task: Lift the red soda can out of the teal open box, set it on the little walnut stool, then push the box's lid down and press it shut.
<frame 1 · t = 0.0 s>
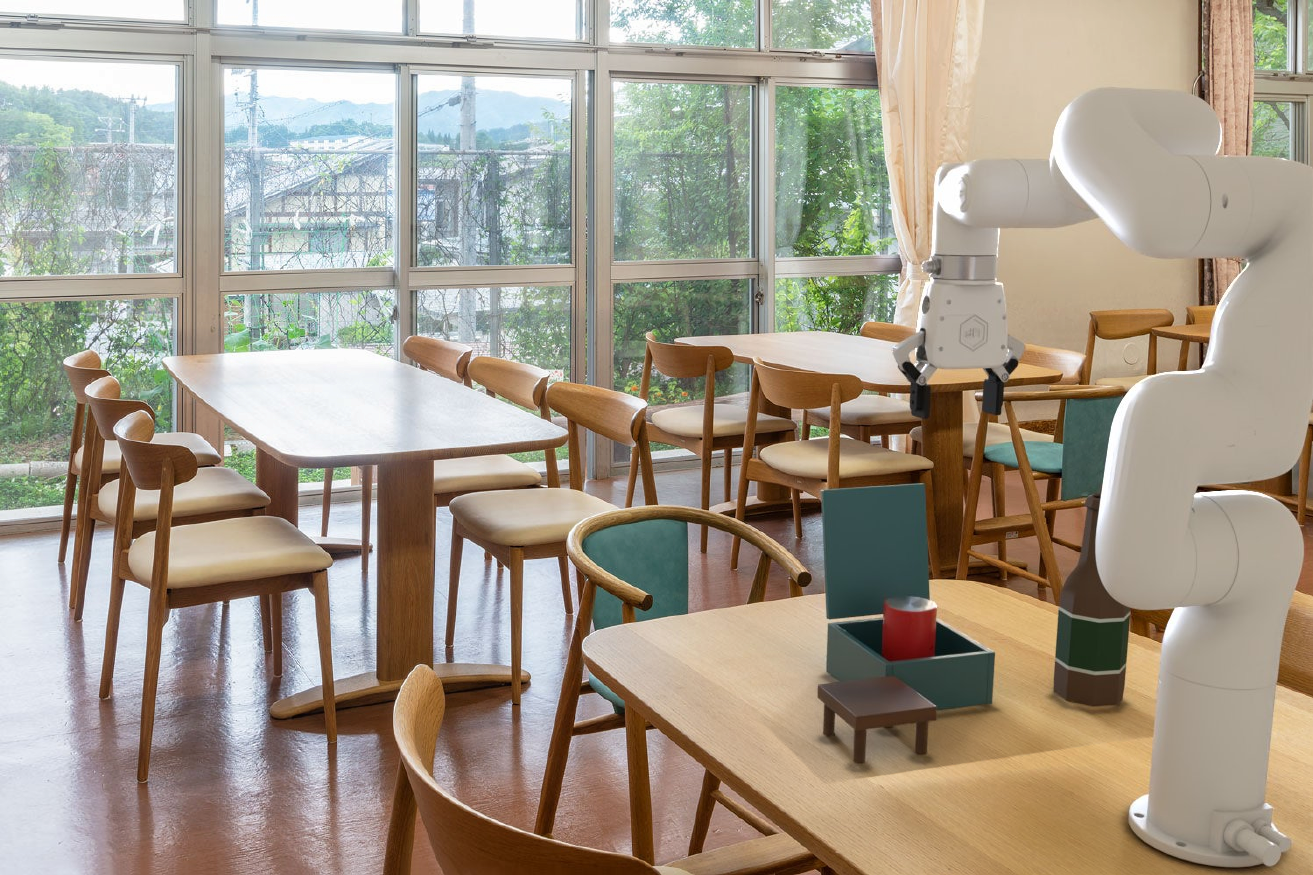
hand: (956, 415, 151), 31 cm above the table, tool pointing down, fingers open, 9 cm apart
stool: (873, 749, 132), on the table
soda can: (906, 686, 147), point 1 cm above the table, touching teal open box
beer bottle: (1087, 701, 146), on the table
lid: (876, 550, 153), point 15 cm above the table, hinge at 100.0°
teal open box: (906, 692, 148), on the table
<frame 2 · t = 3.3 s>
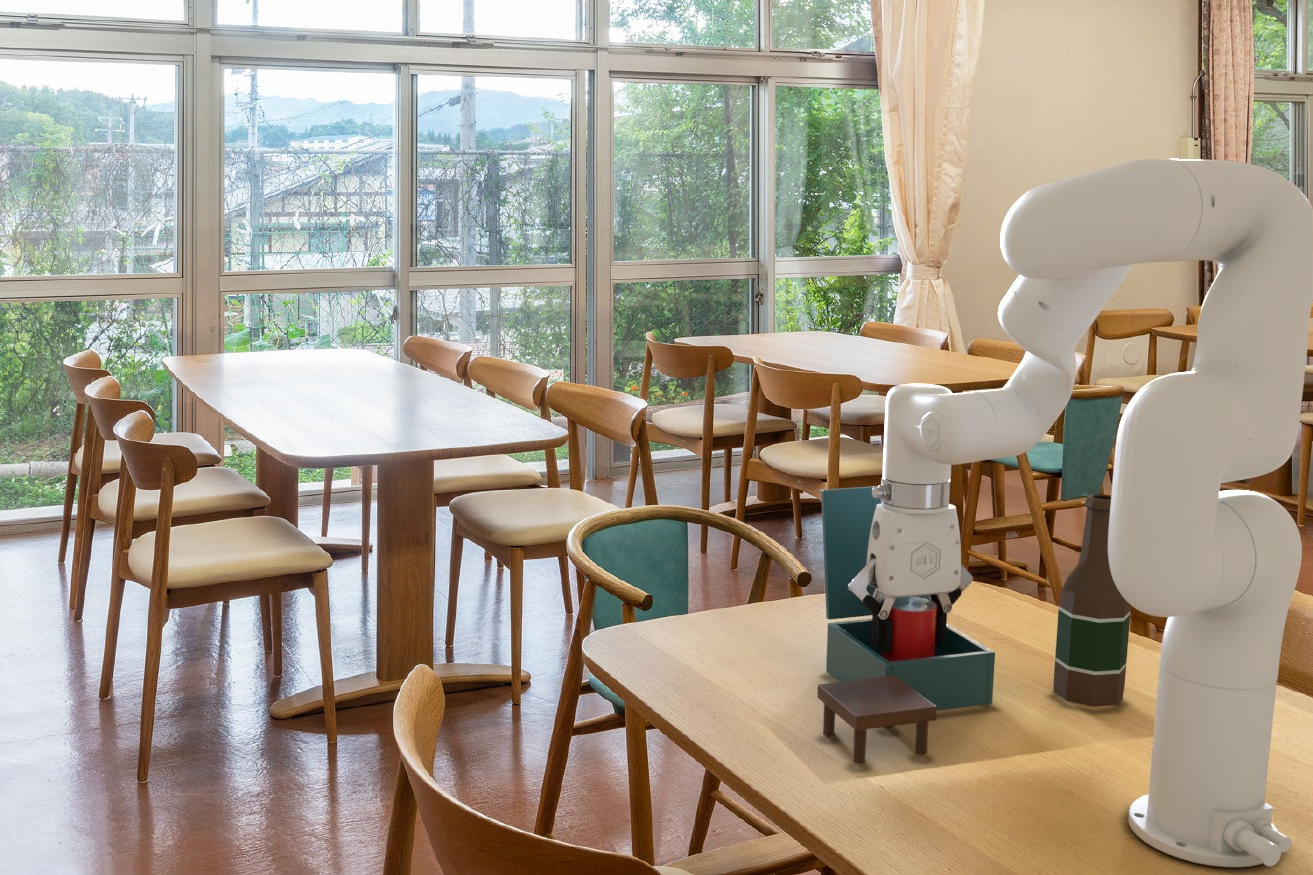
hand: (908, 644, 146), 6 cm above the table, tool pointing down, fingers closed on soda can, 6 cm apart
soda can: (906, 686, 147), point 1 cm above the table, touching teal open box, gripper
everything else where it was.
when the fingers open (11 cm above the table, at t = 10.0 s): soda can stays where it is, resting on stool.
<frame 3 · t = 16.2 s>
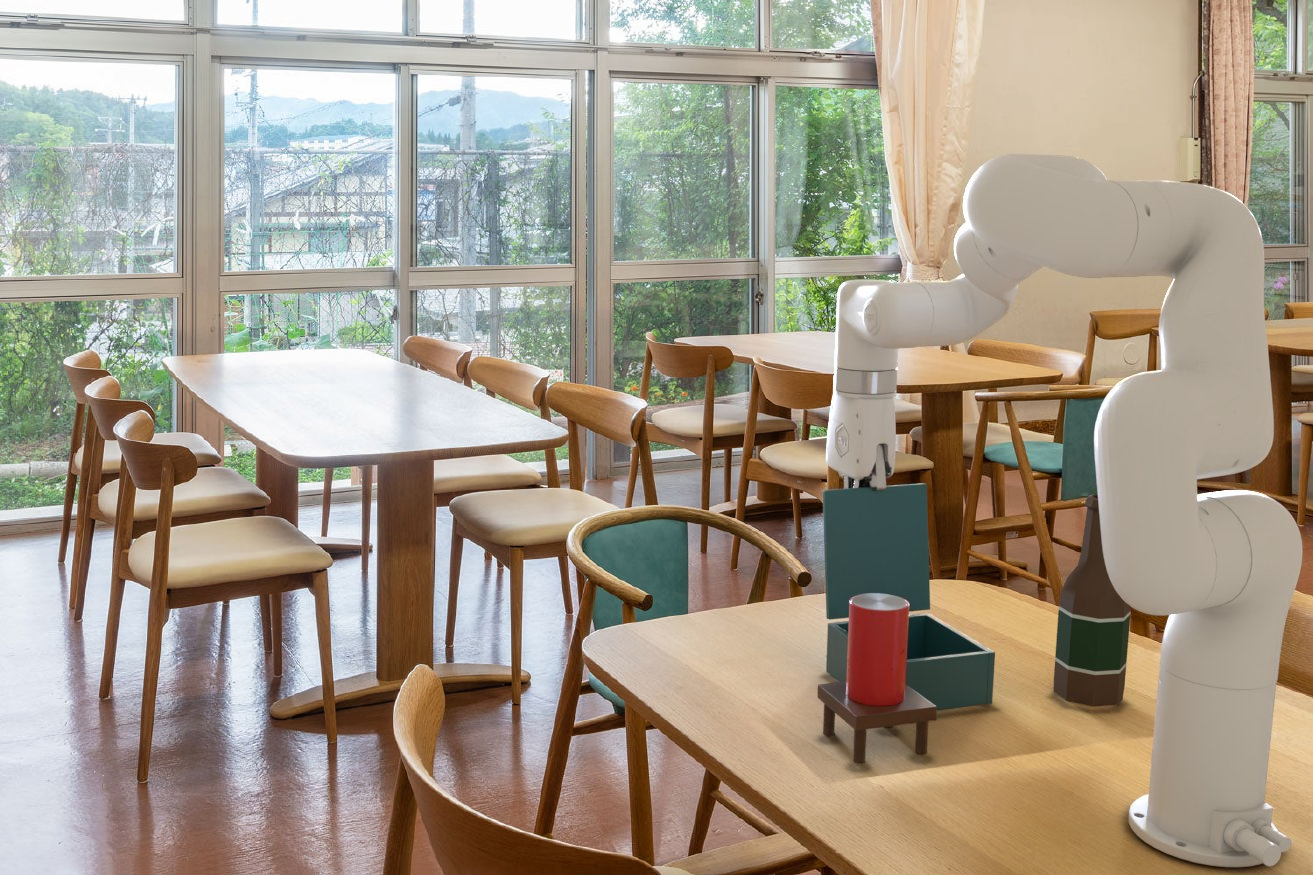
hand: (858, 529, 157), 16 cm above the table, tool pointing down, fingers closed
soda can: (875, 694, 131), point 6 cm above the table, touching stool
lid: (877, 550, 153), point 15 cm above the table, hinge at 98.4°, touching gripper
everything else where it was.
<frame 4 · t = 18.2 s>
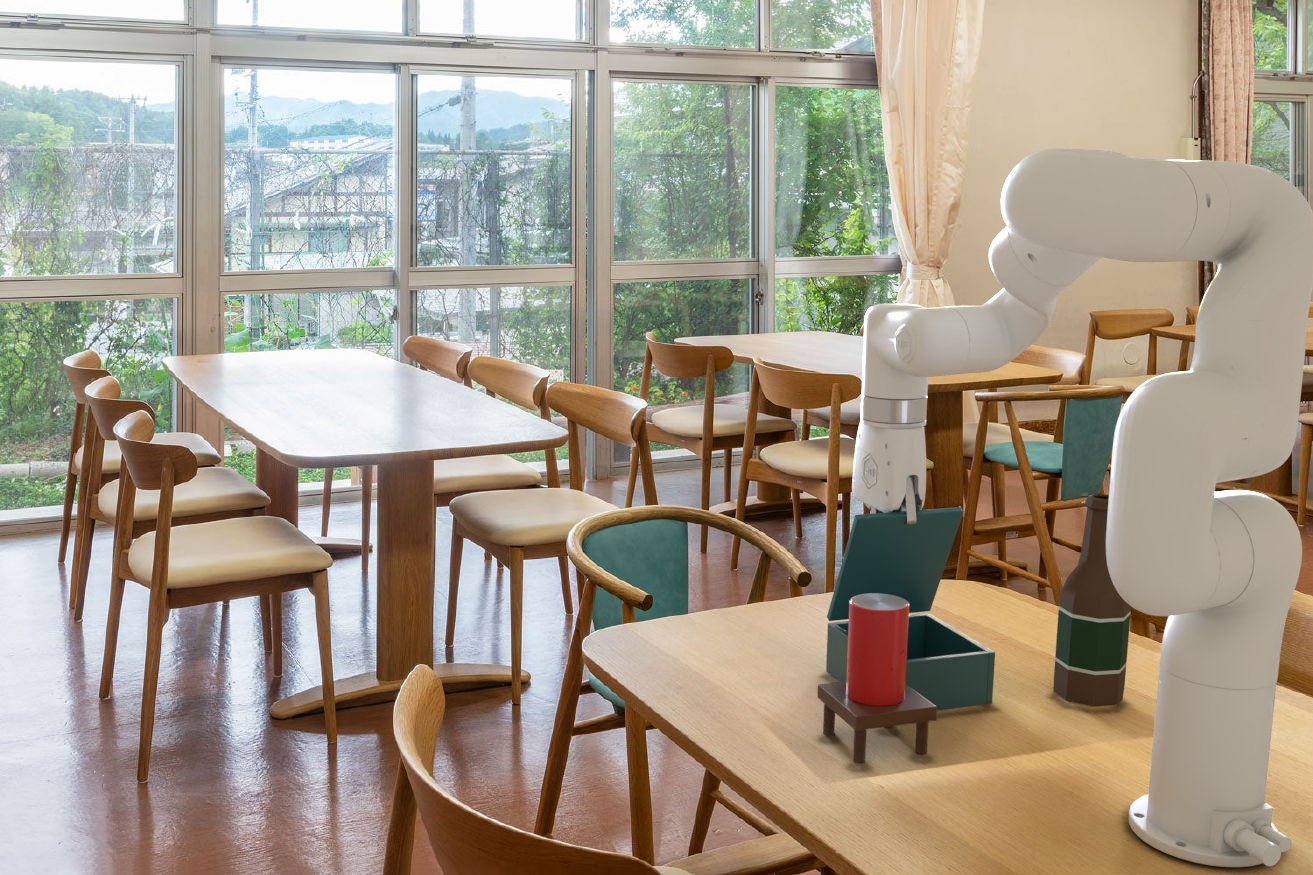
hand: (887, 563, 150), 14 cm above the table, tool pointing down, fingers closed
lid: (894, 564, 149), point 14 cm above the table, hinge at 65.8°, touching gripper
everything else where it was.
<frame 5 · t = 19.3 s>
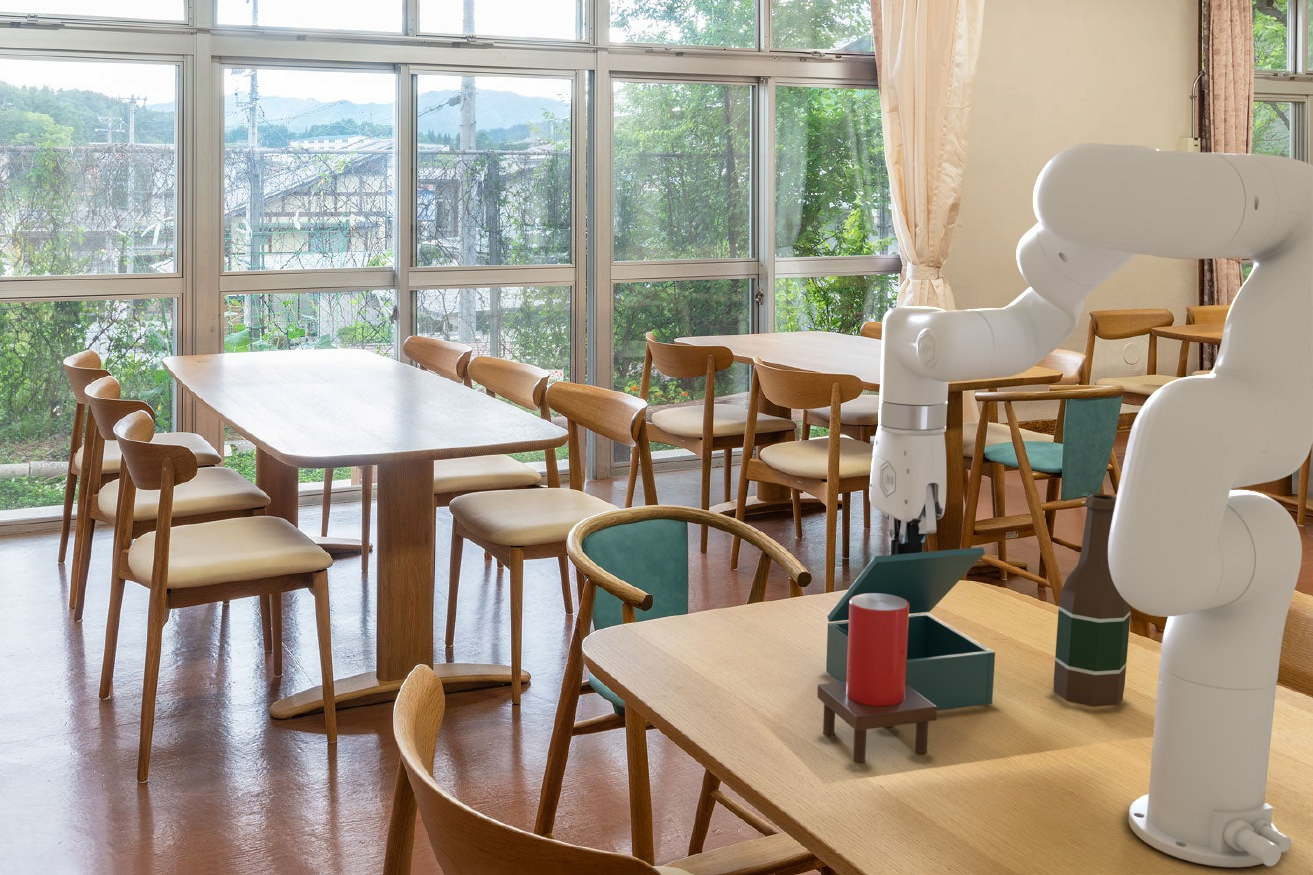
hand: (905, 573, 146), 14 cm above the table, tool pointing down, fingers closed
lid: (903, 585, 147), point 12 cm above the table, hinge at 42.8°
everything else where it was.
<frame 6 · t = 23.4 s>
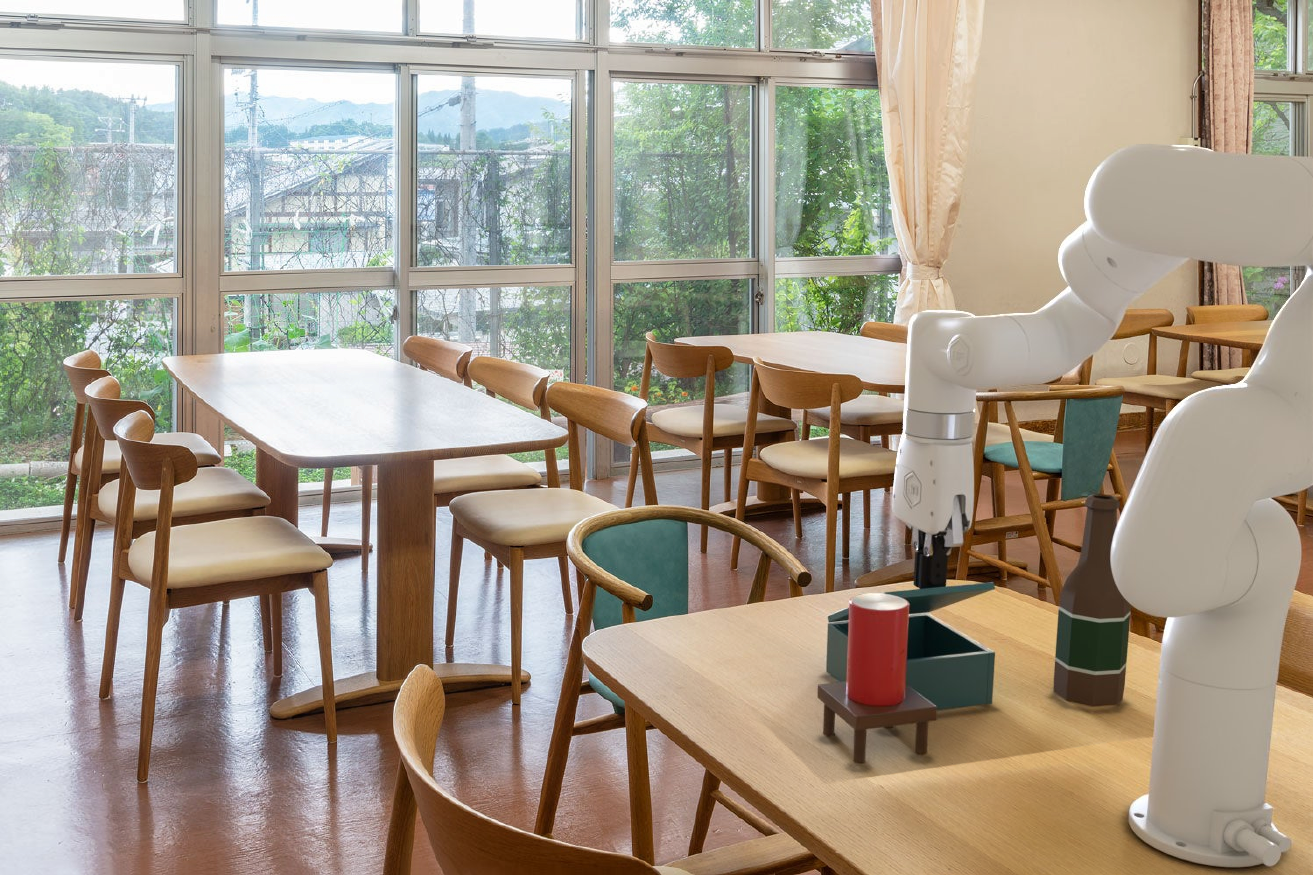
hand: (929, 587, 141), 14 cm above the table, tool pointing down, fingers closed
lid: (908, 602, 146), point 11 cm above the table, hinge at 27.2°
everything else where it was.
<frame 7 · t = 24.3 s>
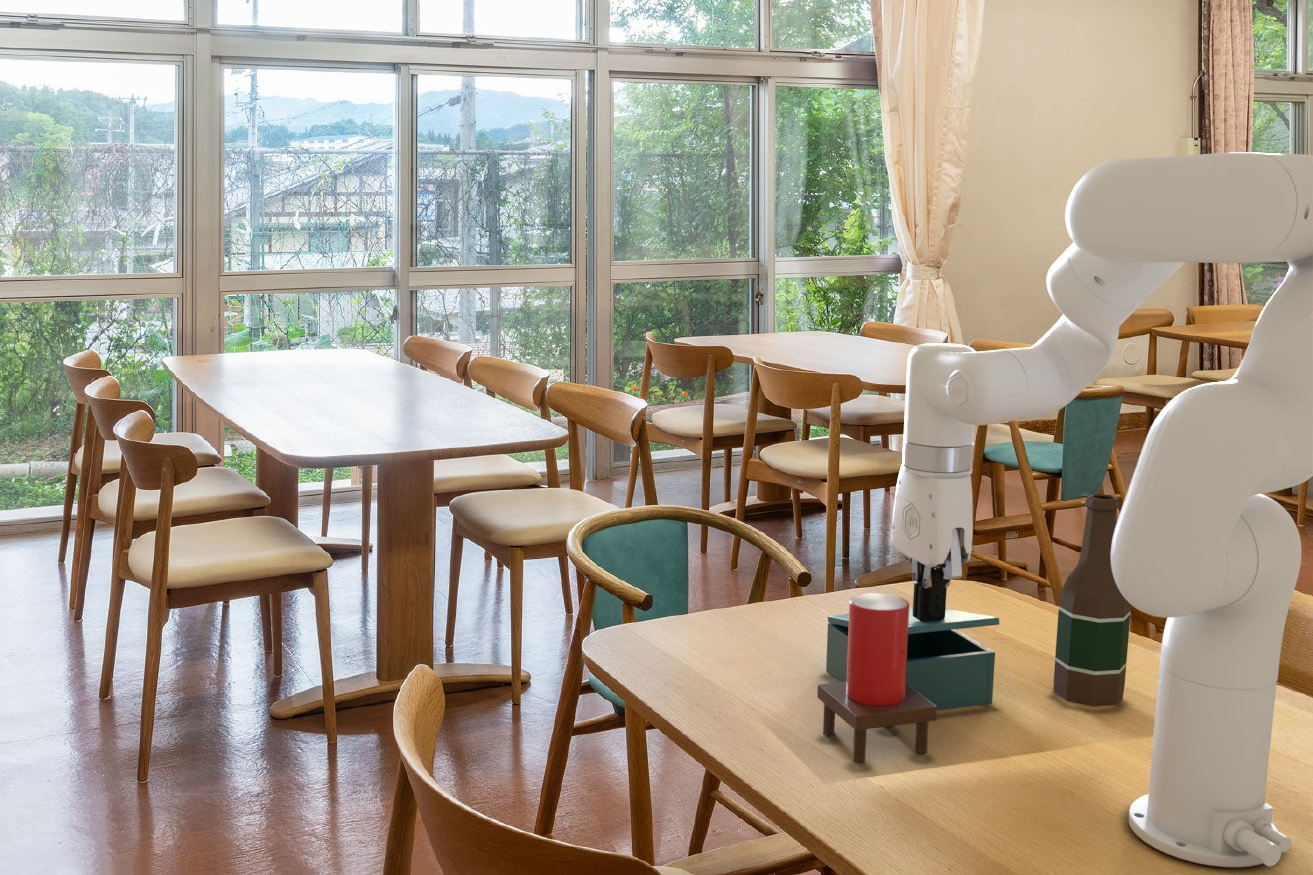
hand: (928, 618, 142), 10 cm above the table, tool pointing down, fingers closed
lid: (910, 620, 146), point 9 cm above the table, hinge at 12.4°, touching gripper
everything else where it was.
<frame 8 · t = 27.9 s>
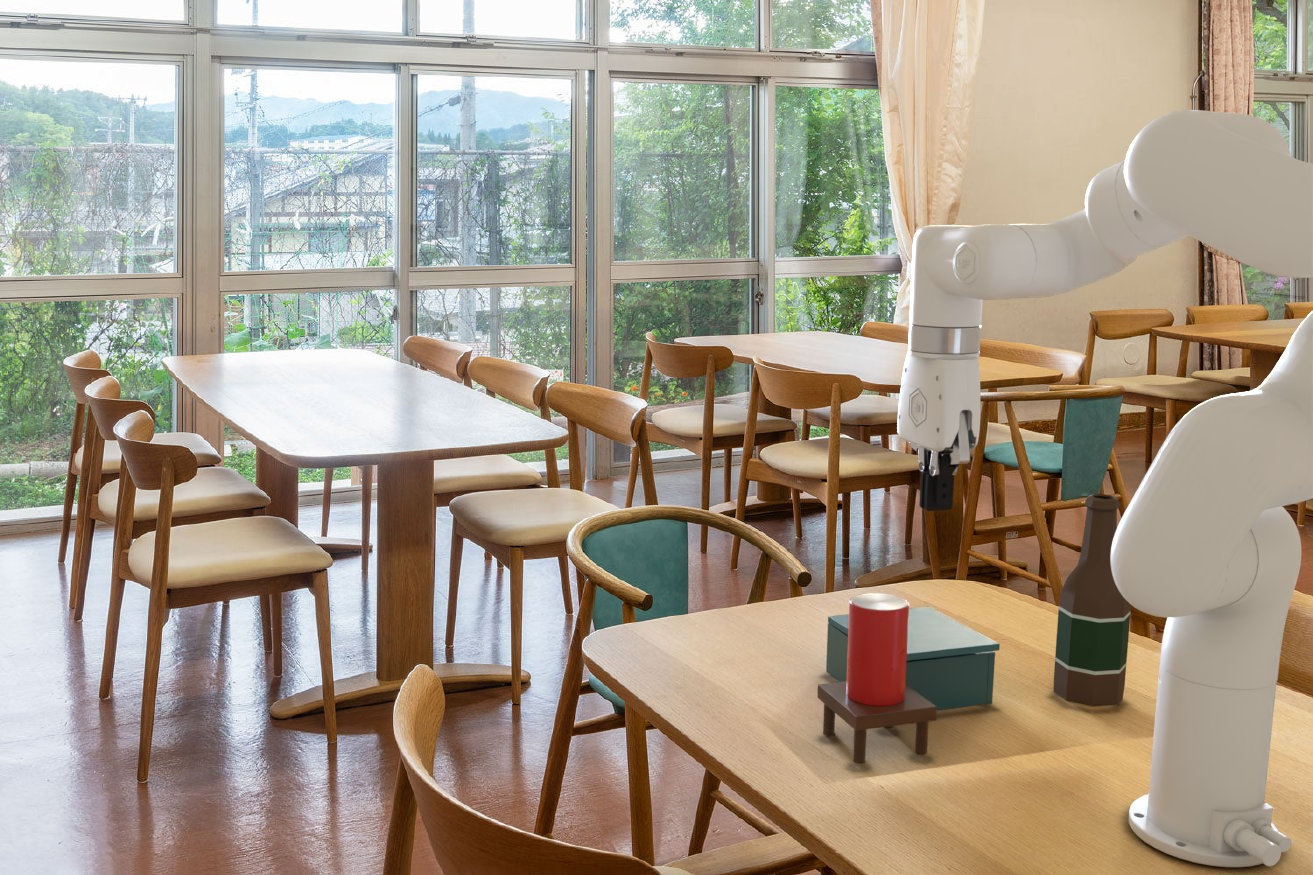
hand: (935, 508, 139), 23 cm above the table, tool pointing down, fingers closed
lid: (910, 632, 146), point 7 cm above the table, hinge at 1.6°
everything else where it was.
at the end: soda can 0.1 cm off-centre on the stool, point 6.0 cm above the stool's base; soda can tilted 0°; lid at +2° (first picture: +100°) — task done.
